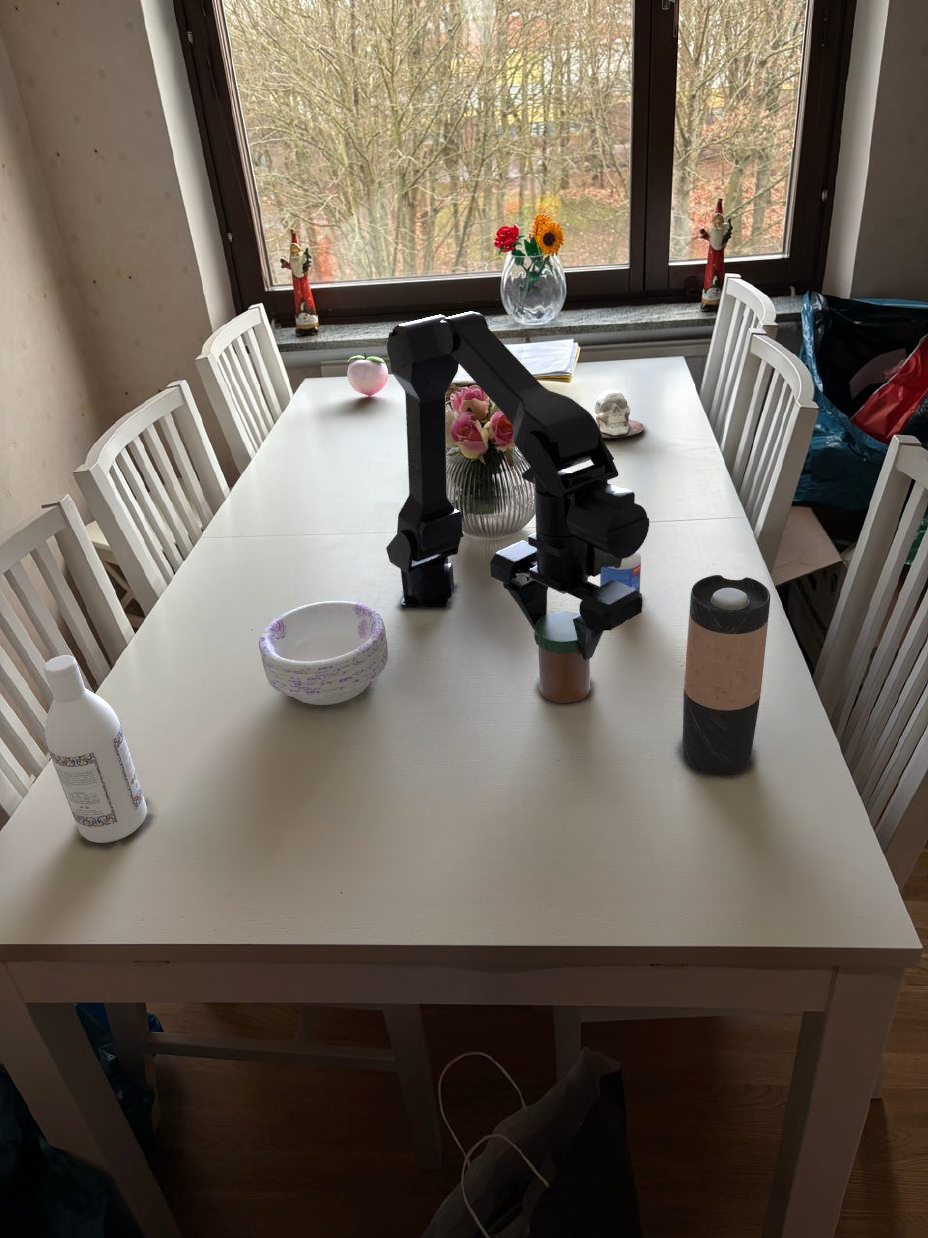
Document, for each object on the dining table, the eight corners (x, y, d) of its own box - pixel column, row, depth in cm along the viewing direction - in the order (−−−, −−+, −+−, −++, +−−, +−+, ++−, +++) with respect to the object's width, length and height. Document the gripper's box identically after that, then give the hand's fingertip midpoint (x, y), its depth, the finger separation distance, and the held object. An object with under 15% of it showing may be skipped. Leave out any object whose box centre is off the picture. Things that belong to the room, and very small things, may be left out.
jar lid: (543, 658, 108) (542, 645, 107) (528, 627, 113) (527, 615, 112) (601, 648, 108) (601, 636, 108) (583, 618, 114) (583, 607, 113)
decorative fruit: (344, 402, 213) (338, 358, 208) (354, 391, 220) (349, 347, 215) (385, 402, 212) (380, 357, 206) (394, 390, 218) (389, 347, 213)
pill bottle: (638, 612, 128) (640, 547, 123) (598, 610, 129) (598, 546, 124) (640, 592, 133) (642, 528, 128) (601, 590, 134) (602, 527, 129)
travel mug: (711, 787, 98) (726, 620, 88) (665, 747, 104) (673, 587, 94) (768, 761, 101) (789, 597, 91) (720, 724, 107) (734, 566, 96)
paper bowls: (257, 670, 123) (245, 617, 118) (369, 639, 127) (362, 587, 123) (286, 735, 110) (274, 679, 106) (409, 698, 115) (402, 643, 111)
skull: (654, 433, 181) (619, 397, 177) (613, 470, 185) (578, 435, 181) (643, 410, 191) (609, 376, 187) (605, 445, 195) (570, 412, 191)
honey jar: (547, 707, 112) (545, 646, 107) (534, 678, 117) (532, 620, 112) (596, 698, 112) (596, 638, 108) (581, 670, 118) (581, 612, 113)
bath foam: (124, 790, 104) (73, 635, 94) (161, 816, 100) (112, 657, 90) (67, 826, 100) (6, 668, 89) (103, 855, 96) (43, 693, 85)
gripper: (678, 526, 101) (671, 649, 110) (553, 480, 114) (555, 594, 122) (607, 562, 96) (606, 690, 104) (483, 510, 108) (491, 627, 116)
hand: (564, 646), depth 112 cm, fingers open, 7 cm apart
